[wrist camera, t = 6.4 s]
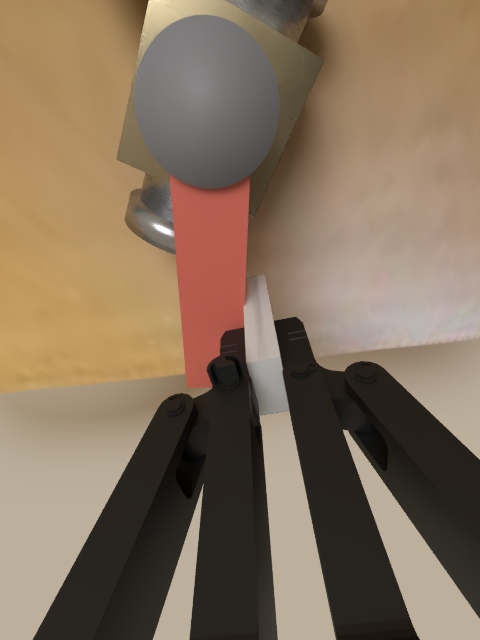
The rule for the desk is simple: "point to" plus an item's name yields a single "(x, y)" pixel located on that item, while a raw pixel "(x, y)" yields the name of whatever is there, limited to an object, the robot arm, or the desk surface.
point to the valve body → (292, 80)
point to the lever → (208, 164)
